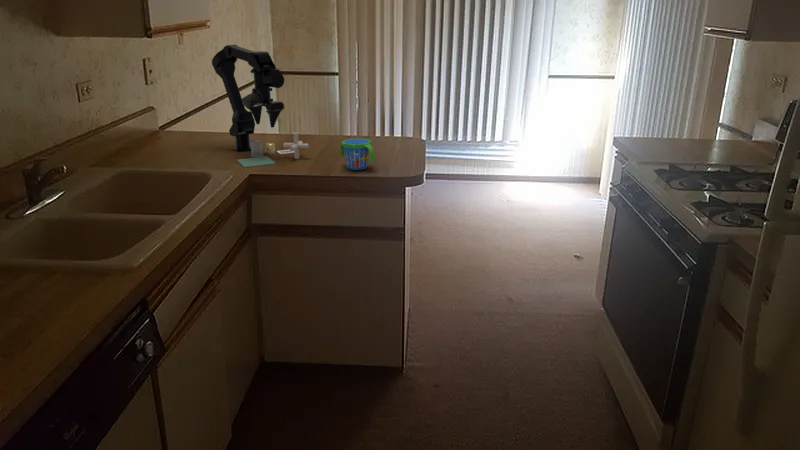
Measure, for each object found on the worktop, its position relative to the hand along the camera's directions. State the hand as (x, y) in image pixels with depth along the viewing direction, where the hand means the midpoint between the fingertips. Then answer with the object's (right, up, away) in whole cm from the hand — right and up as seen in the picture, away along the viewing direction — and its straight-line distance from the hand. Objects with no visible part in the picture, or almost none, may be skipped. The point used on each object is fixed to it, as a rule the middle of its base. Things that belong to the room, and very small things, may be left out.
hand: (265, 125), depth 244 cm
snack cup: (+37, -18, -15) cm, 44 cm away
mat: (-2, -15, -6) cm, 16 cm away
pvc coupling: (-4, -12, +3) cm, 13 cm away
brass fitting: (+1, -10, +8) cm, 13 cm away
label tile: (+7, -9, +10) cm, 15 cm away
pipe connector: (+13, -13, 0) cm, 18 cm away
